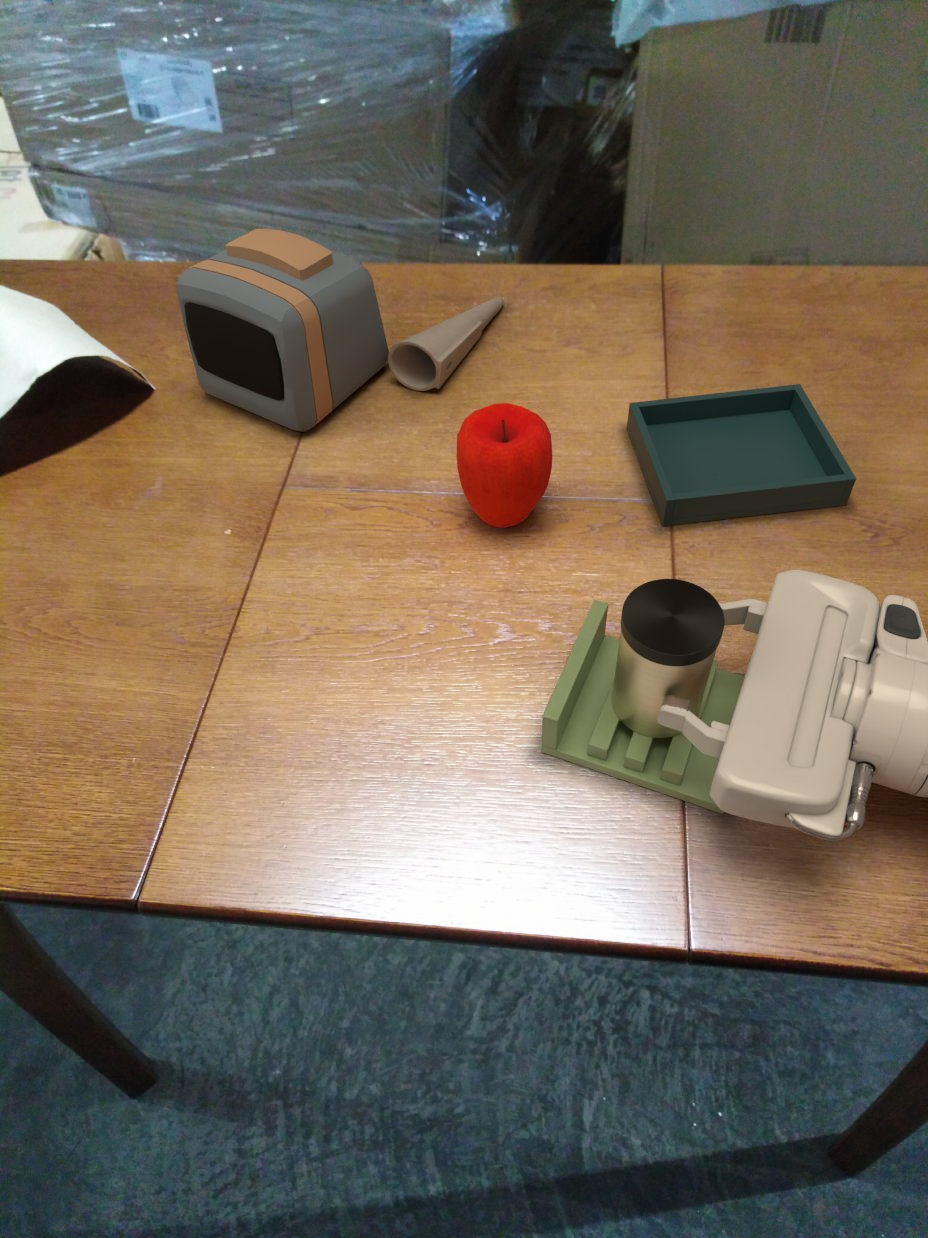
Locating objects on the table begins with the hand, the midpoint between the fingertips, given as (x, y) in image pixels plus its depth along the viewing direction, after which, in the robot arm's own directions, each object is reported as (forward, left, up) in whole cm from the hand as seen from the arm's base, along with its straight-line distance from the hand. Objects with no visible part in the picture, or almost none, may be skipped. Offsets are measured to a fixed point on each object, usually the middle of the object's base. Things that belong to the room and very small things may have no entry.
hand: (679, 658), depth 64 cm
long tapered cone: (+11, -54, -8) cm, 56 cm away
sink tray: (-14, -28, -8) cm, 32 cm away
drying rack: (+1, 0, -8) cm, 8 cm away
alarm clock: (+29, -50, -8) cm, 58 cm away
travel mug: (+1, 0, -5) cm, 5 cm away
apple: (+9, -25, -8) cm, 28 cm away
